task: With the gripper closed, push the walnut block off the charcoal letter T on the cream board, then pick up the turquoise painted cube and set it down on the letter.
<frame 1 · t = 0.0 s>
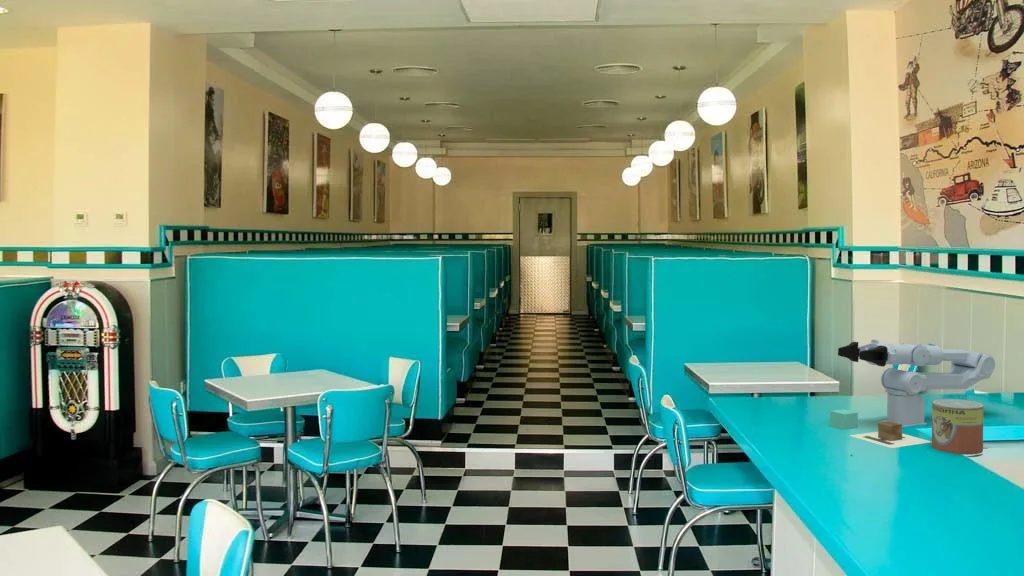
hand: (849, 353, 214), 22 cm above the counter, tool horizontal, fingers open, 7 cm apart
canned food: (956, 451, 194), on the counter
turquoise cube: (843, 429, 218), on the counter
walnut block: (890, 438, 205), point 1 cm above the counter, touching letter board
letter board: (889, 440, 205), on the counter
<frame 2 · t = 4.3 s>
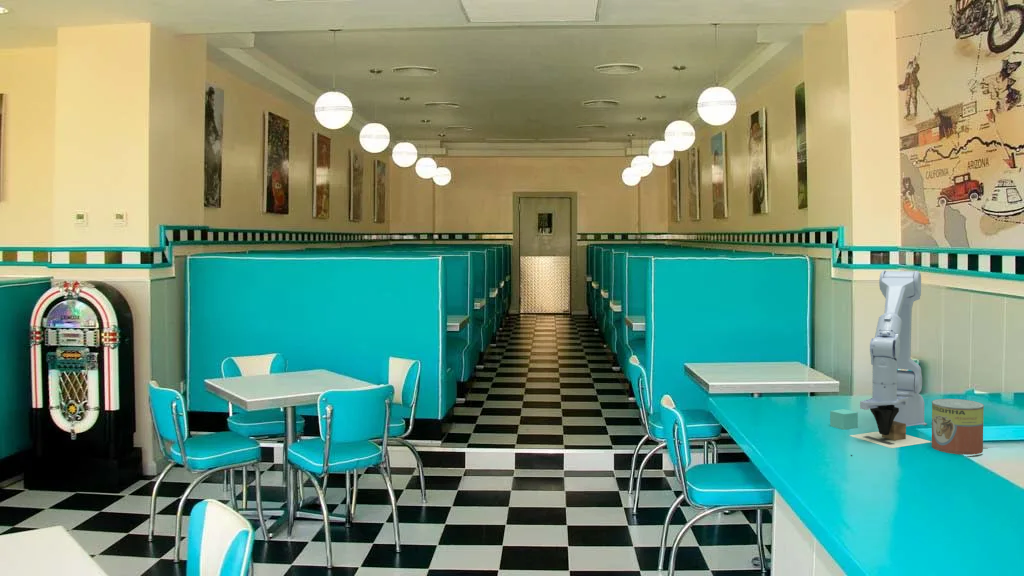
hand: (884, 434, 204), 2 cm above the counter, tool pointing down, fingers closed
walnut block: (893, 437, 205), point 1 cm above the counter, touching gripper, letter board
everything else where it was.
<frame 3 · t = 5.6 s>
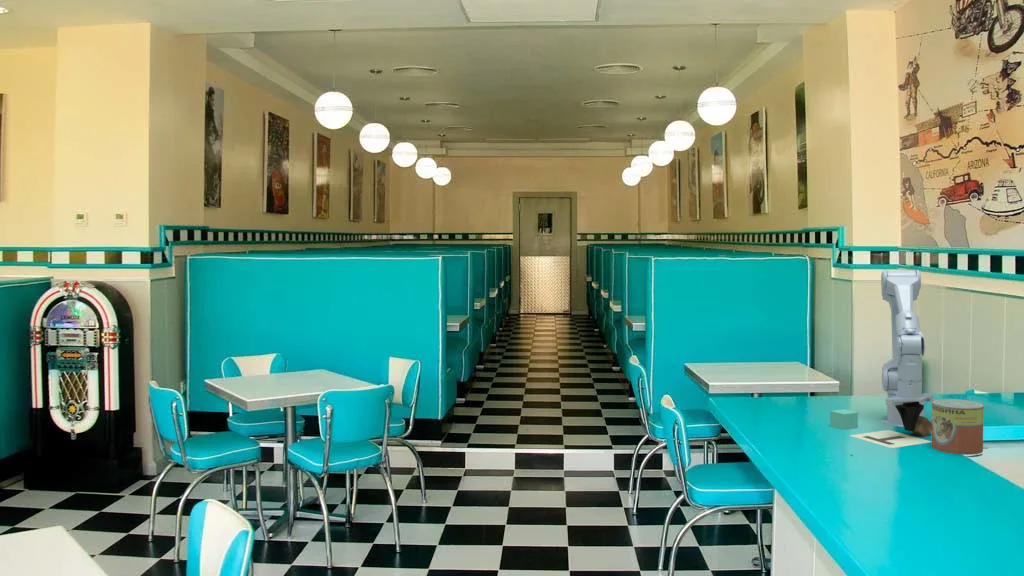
hand: (909, 430, 207), 2 cm above the counter, tool pointing down, fingers closed
walnut block: (916, 432, 208), point 1 cm above the counter, tilted 43°, touching gripper
everything else where it was.
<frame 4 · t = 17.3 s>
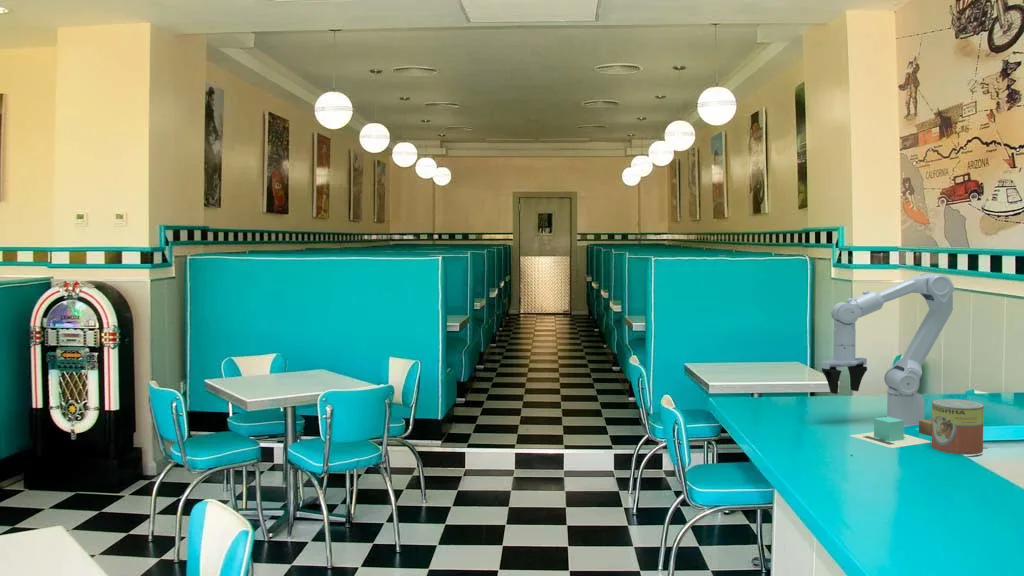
hand: (844, 391, 223), 9 cm above the counter, tool pointing down, fingers open, 7 cm apart
turquoise cube: (888, 438, 205), point 1 cm above the counter, touching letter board
walnut block: (924, 429, 208), point 2 cm above the counter, tilted 90°
everything else where it was.
at the end: walnut block touching counter; turquoise cube 0.4 cm from the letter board (horizontally); turquoise cube touching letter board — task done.
